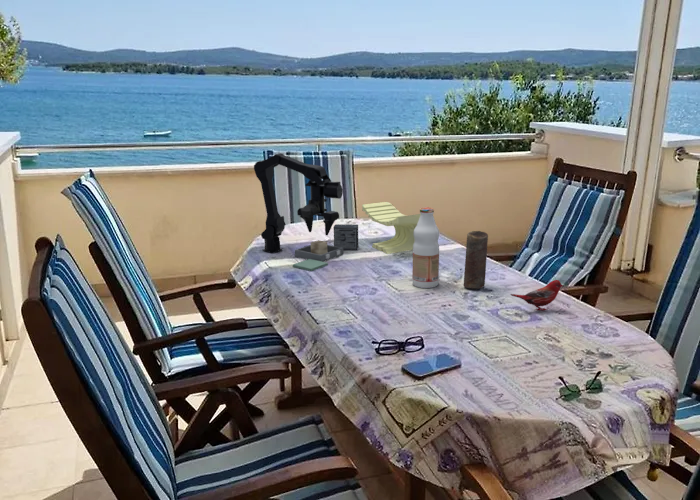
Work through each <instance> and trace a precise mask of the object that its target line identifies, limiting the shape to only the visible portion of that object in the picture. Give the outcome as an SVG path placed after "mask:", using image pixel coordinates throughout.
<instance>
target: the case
mask: <svg viewBox="0 0 700 500" xmlns="http://www.w3.org/2000/svg"><path fill="white" fill-rule="evenodd" d="M327 251H328V253H325V254H322V255H319V254H314V253H311V244H308V245H306V246H302V247H300V248H296V249H294V258H299V259H303V260H307V259H312V260H317V261H322V262H327V261H330V260H332V259H335V258H338V257H340V256H343V255H344V250H343V248H341V247H336V246H334V245H330V244H327Z"/></svg>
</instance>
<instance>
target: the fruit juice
mask: <svg viewBox="0 0 700 500" xmlns="http://www.w3.org/2000/svg"><path fill="white" fill-rule="evenodd" d="M419 214H421V215H420V218H419V221H418V223H417V226H416V227H415V229H414V233H413V234H414V239H415V242H414V244H413V250H412V278H411V280H412V281H411V282H412V285H413V286H415V287H416V288H420V289H421V288H422V289H431V288H435V287H437V286H438V285H439V280H440V279H439V276H440V275H439V274H440V272H439V270H440V244H439V237H440V229H439V227H438V226H437V223H436V219H435V217H434V214H435V209H434V208H433V207H429V206H428V207H426V206H425V207H420V208H419Z"/></svg>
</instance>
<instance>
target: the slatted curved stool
mask: <svg viewBox="0 0 700 500" xmlns="http://www.w3.org/2000/svg"><path fill="white" fill-rule="evenodd" d="M361 208H362V209H361V210H362V211H363V212H365V213H364V214H365V215H368V218H370V219H371V222H375V223H378V224H379V225H383V226H386V227H393V229H394V231H395V233H394V236H392V238H390V239H388V240H384V241H380V242H379V241H378V242H375V243H372V245H371V248H372V249H375V250H377V251H380V252H381V253H383V254H386V255H391V254H396V253H402V252H408V251H413V244H414V242H415V239H414V234H413V233H414V229H415V227H416V226H417V223H418V221H419V218H420V215H421V214H420V213H418V214H411V215H410V214H409V215H405V214H403V213H401V211H400V210H398V208H396V207H395V206H394V205H393V204H392V203H391V202H388V201H381V202H375V203H372V202H371V203H366V204H364V203H363V204H362V205H361Z"/></svg>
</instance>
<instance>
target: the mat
mask: <svg viewBox="0 0 700 500" xmlns="http://www.w3.org/2000/svg"><path fill="white" fill-rule="evenodd" d="M327 266H329V263H328V262H327V261H324V262H322V261H317V260H312V259H303V260H302V261H299V262H296V263H293V264H292V267H293V268H296V269H301V270H304V271H309V272H314V271H317V270H318V269H322V268H325V267H327Z"/></svg>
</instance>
